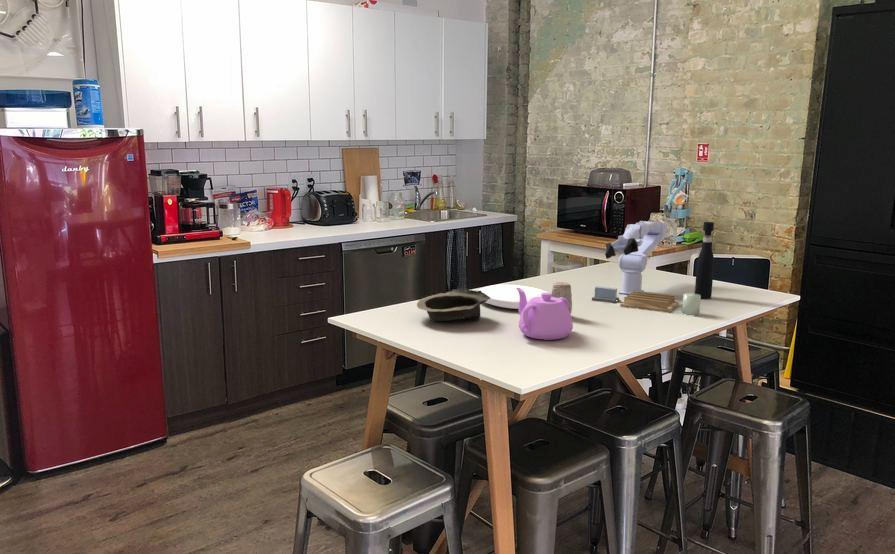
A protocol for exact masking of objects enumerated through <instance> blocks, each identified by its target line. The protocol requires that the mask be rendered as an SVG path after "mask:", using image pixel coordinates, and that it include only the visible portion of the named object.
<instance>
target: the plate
mask: <svg viewBox="0 0 895 554" xmlns="http://www.w3.org/2000/svg"><path fill="white" fill-rule="evenodd" d="M517 288H520V289H522V290H523V291H524V293H525V295H526V300H527V303H528V302H529V301H530V299H532V298H534V297H542V296H541V293H549V291H546V290H543V289H540V288H538V287H537V288H536V287H532V286H526V285H518V284H493V285H488V286H484V287H481V288H479V289H477V291H480V290H481V292H483V293H485V294H487V296H489V297H490V299H488V300H487V302H485V303H486V304H489V305H491V306H496V307H499V308H506V309H515V310H519V301H520V296H519V292H518V290H517Z"/></svg>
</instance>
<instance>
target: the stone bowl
mask: <svg viewBox="0 0 895 554" xmlns="http://www.w3.org/2000/svg"><path fill="white" fill-rule="evenodd" d="M488 299H490V297H489V296H487V294H485V293H483V292H481V290H480V291H478V290H473V289H467V288H465V289H463V288H456V289H454V288H453V289H452V290H450V291H447V292H445V293H442V292H441V293H437V294H433V295H430V296H426V297H423V298H421V299H419V300H418V302H417V303H416V306H417V307H416V308H418V309H419V310H422V311H426V313H427V315H428V316H429V318H430V320H431V321H432V322H445V321H451V320H452V321H455V320H461V319H465V320H469V321H471V322H479V321H480V319H481V305H483V304H484V303H486V302H487V300H488Z"/></svg>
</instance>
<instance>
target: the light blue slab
mask: <svg viewBox="0 0 895 554" xmlns="http://www.w3.org/2000/svg"><path fill="white" fill-rule="evenodd" d="M617 295H618V288H616V287H609V286H608V287H607V286H598V285H596V286H595V287H594V297H598V298H606V299H614V300H616V299H617V297H618V296H617Z"/></svg>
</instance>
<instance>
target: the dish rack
mask: <svg viewBox="0 0 895 554" xmlns="http://www.w3.org/2000/svg"><path fill="white" fill-rule="evenodd" d="M623 300H624V301H622V302H621V303H620V305H619V306H621V307H620V308H628V307H630V308H629V309H636V308H639V309H638V310H644V309H647V311H652V310H654V311H653V312H660V311H662V313H668V312H669V313H670V312H672V311H673V310H674V309H675V308H676V307H677V306H678V305H679V301H677V300H676V295H672V294H664V293H655V292H654V293H653V292H647V291H643V292H639V291H633V293H630V294H626V296H624V298H623ZM677 304H678V305H677ZM676 305H677V306H676ZM675 306H676V307H675ZM674 307H675V308H674ZM673 308H674V309H673ZM672 309H673V310H672Z"/></svg>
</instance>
